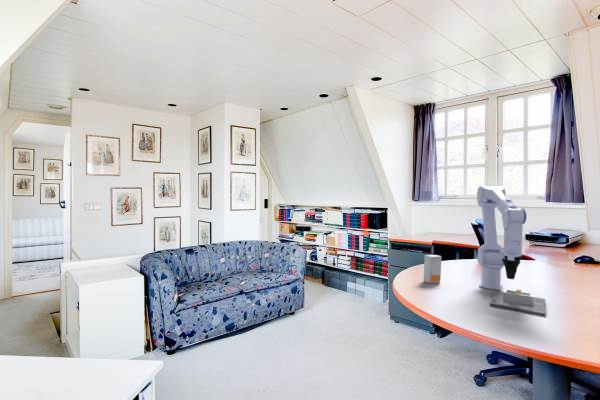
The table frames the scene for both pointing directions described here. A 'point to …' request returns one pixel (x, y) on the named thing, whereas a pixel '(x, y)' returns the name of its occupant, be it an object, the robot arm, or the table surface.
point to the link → (518, 297)
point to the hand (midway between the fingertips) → (511, 276)
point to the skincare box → (432, 268)
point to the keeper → (519, 304)
